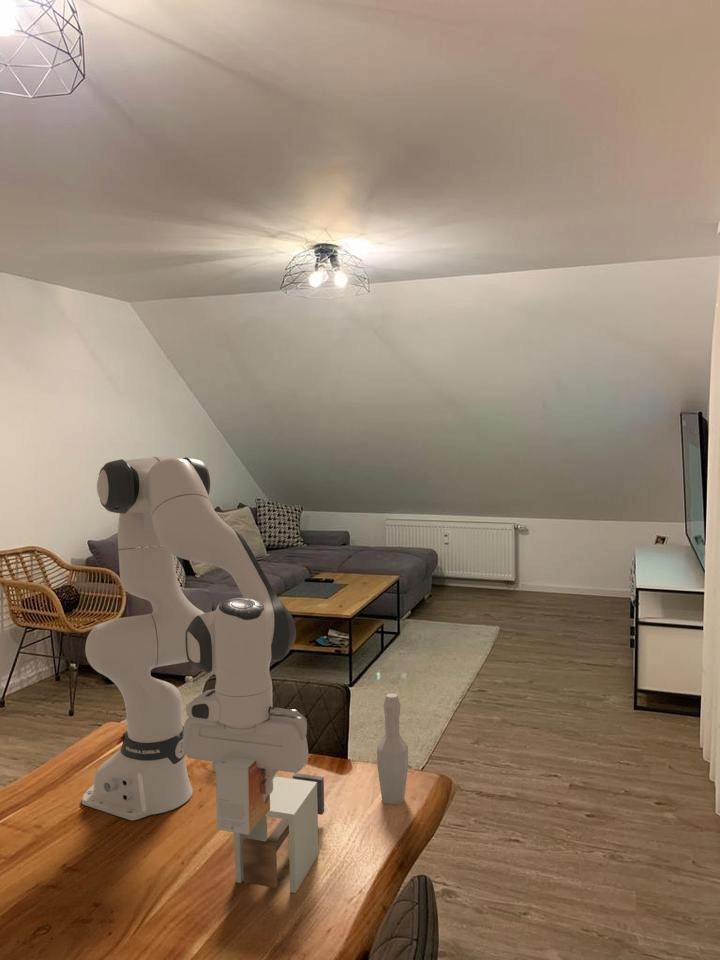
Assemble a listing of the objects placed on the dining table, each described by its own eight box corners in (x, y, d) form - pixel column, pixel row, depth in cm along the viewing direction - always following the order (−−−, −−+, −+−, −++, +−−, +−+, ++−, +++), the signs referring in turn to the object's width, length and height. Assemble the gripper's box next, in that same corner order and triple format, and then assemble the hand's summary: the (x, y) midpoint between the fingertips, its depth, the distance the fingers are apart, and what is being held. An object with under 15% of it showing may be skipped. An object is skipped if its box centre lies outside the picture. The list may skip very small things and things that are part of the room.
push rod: (242, 881, 115) (241, 841, 115) (295, 807, 138) (294, 773, 138) (275, 888, 114) (274, 846, 113) (324, 811, 137) (323, 776, 136)
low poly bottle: (377, 791, 148) (376, 689, 146) (407, 791, 148) (406, 689, 146) (377, 807, 142) (376, 701, 140) (409, 807, 141) (408, 701, 140)
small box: (249, 836, 105) (248, 768, 104) (216, 830, 107) (214, 763, 106) (271, 809, 113) (270, 745, 112) (240, 804, 114) (238, 741, 114)
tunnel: (235, 881, 119) (233, 805, 118) (262, 845, 129) (260, 774, 128) (295, 893, 115) (294, 814, 115) (318, 854, 126) (317, 782, 125)
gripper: (313, 703, 109) (315, 788, 110) (196, 690, 115) (199, 772, 116) (298, 719, 103) (300, 809, 104) (176, 705, 109) (179, 791, 110)
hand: (246, 789), depth 110 cm, fingers closed on small box, 6 cm apart
